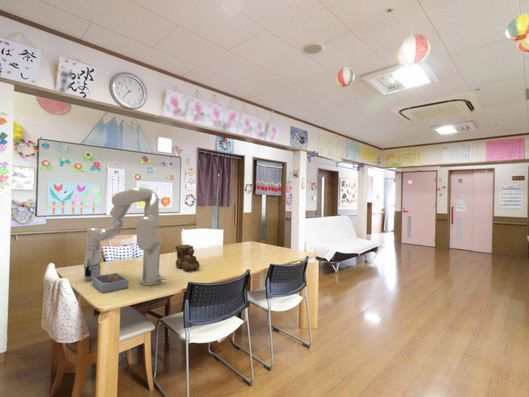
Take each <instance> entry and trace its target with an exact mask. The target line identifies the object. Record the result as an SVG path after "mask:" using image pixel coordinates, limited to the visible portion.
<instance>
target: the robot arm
mask: <svg viewBox="0 0 529 397" xmlns="http://www.w3.org/2000/svg"><path fill="white" fill-rule="evenodd" d="M138 202H141V203H143V202H144V203H145V204H144V208H143V214H144V215H142V216H141V217H139V218H138V220H137V222H136V227H135V228H136V244H137V247H138V249H140V250H142V251H143V257H142V258H143V260H142V277H141V278H142V279H140V280H139V284H140V285H142V286H155V285H158V284H161V283H162V281H166V277H165V276H161V274H160V255H161V246H162V242H163V241H162V240H163V239H162V235H160V234H159V233H158V232H157V231H156V232H155V230H156V229H158V228H159V226H160V211H159V209H160V208H159V205H160V204H159V203H160V202H159V197H158V194H157V192H155V191H154V190H152V189H151V188H146V187H133V188H130V189H126V190H122V191H119V192H116V193H114V194H113V196H112V197H111V203H112V205H113V206H112V207H111V210H110V212H109V215H110V216H111V217H112V220H111V223H110V225H109V227H103V228H100V227H89V228H87V229H86V248H85V254H84V261H83V263H84V264H83V268H84V269H85V276H86V277H90V276H91V270H90V269H91V267H92V266H94V265H96V264H100V265H101V260H102V258H101V242H104V241H107V240H111V239H114V238H116V237H117V235H118V234H119V233H120V231H121V230H122V228H123V225H124V217H126V214H127V213H128V211H129V209H130V208H131V206H132V204H135V203H138Z"/></svg>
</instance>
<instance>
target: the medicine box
mask: <svg viewBox="0 0 529 397" xmlns="http://www.w3.org/2000/svg"><path fill="white" fill-rule="evenodd" d="M101 267H102V266H101V263H100V264H96V265H94V266H92V267H91V269H90V270H91V276H90V277H86V276H85V269H84V271H83V272H84V274H83V276H84V277H83V279H84V280H85V281H92V277H96V276H101Z"/></svg>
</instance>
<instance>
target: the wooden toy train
mask: <svg viewBox="0 0 529 397" xmlns="http://www.w3.org/2000/svg"><path fill="white" fill-rule="evenodd" d="M175 250H176V258H177V259H175V260H176V261H175V267H176V268H177V269H180V268H182V269H183V271H184V272H188V271H189V270H196V269H197V270H198V269H200V261H198V260H197V256H195V255H194V253H195V250H194V246H193V245H190V244H179V245H175Z"/></svg>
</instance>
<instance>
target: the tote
mask: <svg viewBox="0 0 529 397" xmlns="http://www.w3.org/2000/svg"><path fill="white" fill-rule="evenodd" d="M113 274H116V275H118V281H116V282H111V283H108V277H109V275H113ZM91 281H92V283H91V286H92V287H94V288H95V289H96V290H97V291H98V292H100V293H101V294H107V293H111V292H115V291H121V290H126V289H129V279H128V278H127V277H124V276H123V275H122V274H120V273H118V272H116V273H109V274H103V275H100V276H96V277H92V280H91Z"/></svg>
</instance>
